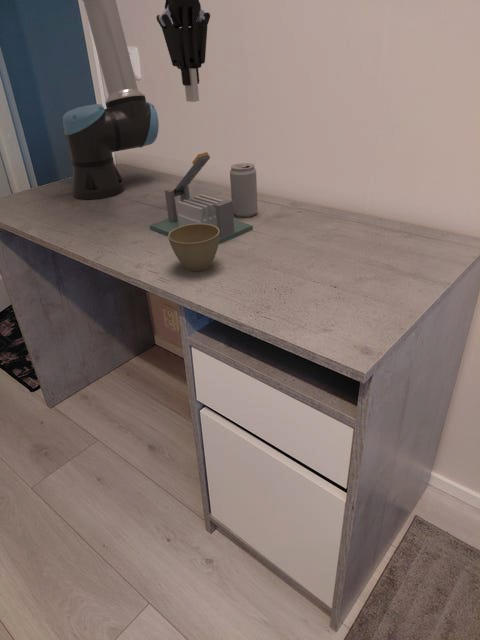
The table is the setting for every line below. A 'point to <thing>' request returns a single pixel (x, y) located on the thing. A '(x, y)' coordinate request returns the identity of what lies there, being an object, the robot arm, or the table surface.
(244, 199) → the beverage can
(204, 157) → the grey long bar
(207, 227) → the flower pot
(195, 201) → the board
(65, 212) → the table surface
